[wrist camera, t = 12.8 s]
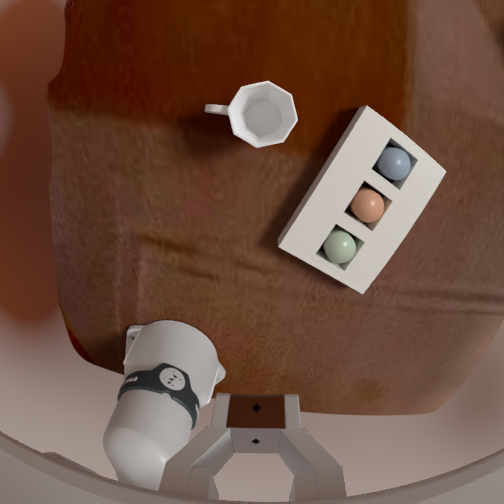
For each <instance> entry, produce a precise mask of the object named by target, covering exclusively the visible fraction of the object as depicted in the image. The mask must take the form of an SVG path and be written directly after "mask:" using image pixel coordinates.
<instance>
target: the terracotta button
mask: <svg viewBox="0 0 504 504" xmlns="http://www.w3.org/2000/svg"><path fill="white" fill-rule="evenodd" d="M349 208H350V210H351V211H352V212H353V213H354V214H355V215H356V216H357V217H358V218H359V219H360V220H361V221H363V222H367V223H370V222H374V221H376V220H377V219H379V218H380V216H381V215H382V213H383V210H384V202H383V199H382V198H381V196H380V195H379V194H377V193H376V192H374V191H373V190H371V189H369V188H367V187H360V188H359V189H358V191H357V193H356V194H355V196H354V197H353V199H352V200H351V202H350V203H349Z"/></svg>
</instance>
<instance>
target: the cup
mask: <svg viewBox="0 0 504 504" xmlns="http://www.w3.org/2000/svg"><path fill="white" fill-rule="evenodd" d="M205 112H209V113H216V114H224V115H229V118H230V122H231V126H232V130H233V134H234V135H236V136H238V137H239V138H241V139H243V140H245V141H246V142H248V143H250V144H251V145H253V146H255V147H256V148H258V147H263V146H267V145H272V144H277V143H281V142H284V140H285V139H286V137H287V136H288V134H289V133H290V131H291V130H292V128H293V127H294V125H295V124H296V122H297V121H298V119H297V114H296V110H295V106H294V102H293V98H292V95H291V94H290V93H288V92H286V91H285V90H283V89H281V88H280V87H278V86H276V85H275V84H273V83H271V82H269V81H265V82H260V83H256V84H251V85H247V86H243V87H241V88H240V90H239V91H238V93H237V94H236V96H235V97H234V99H233V100H232V102H231V104H230V105H229V106H224V105H213V104H206V106H205Z"/></svg>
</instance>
